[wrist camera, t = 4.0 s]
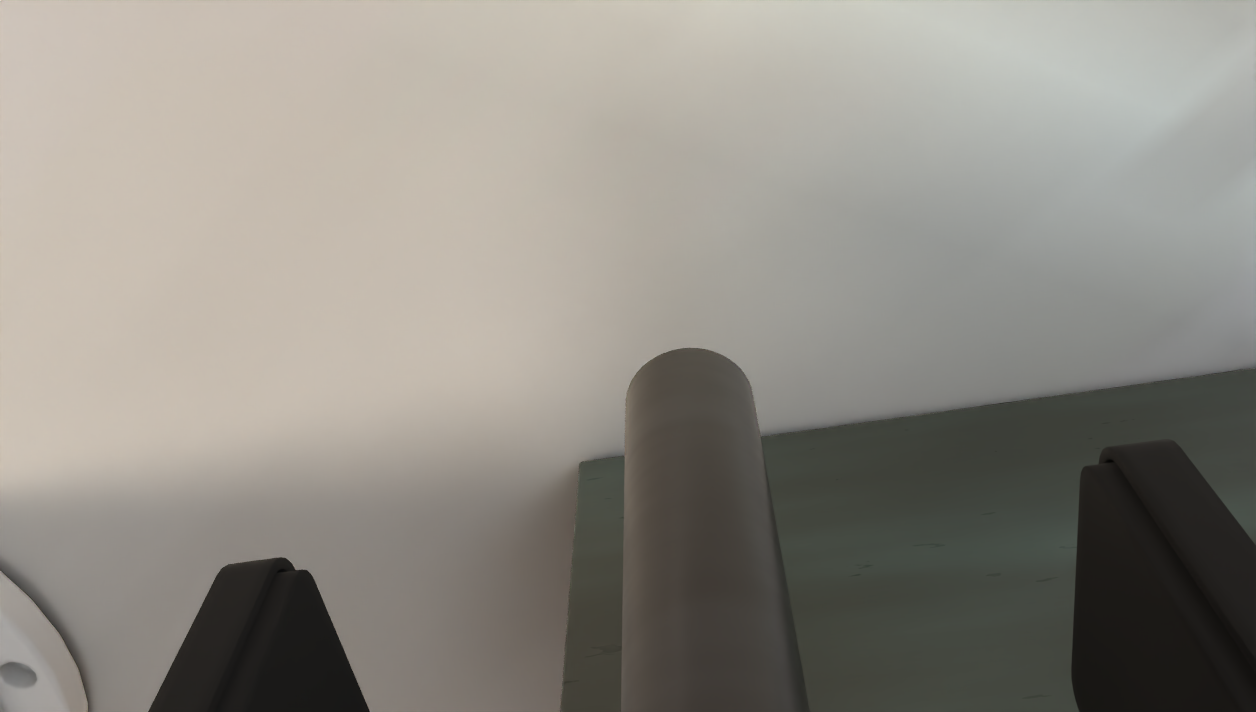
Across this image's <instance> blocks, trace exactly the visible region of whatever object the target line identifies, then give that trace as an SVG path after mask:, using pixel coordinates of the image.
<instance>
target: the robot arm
mask: <svg viewBox="0 0 1256 712" xmlns="http://www.w3.org/2000/svg"><path fill="white" fill-rule="evenodd" d="M1071 679H1072V686H1073V691H1074V696H1075V700H1076V703H1077V706H1078V709H1079V712H1256V545H1255V543H1254V542H1253V541H1252V539H1251V538H1250V537H1249V536H1248V534H1247V533H1246V532H1245V530H1244V529H1243V528H1242V526H1241V525H1240V524H1239V523H1238V521H1237V520H1236V519H1235V517H1234V516H1233V515H1232V513H1231V512H1230V511H1229V510H1228V508H1227V507H1226V506H1225V504H1224V503H1223V502H1222V500H1221V499H1220V498H1219V497H1218V495H1217V494H1216V493H1215V491H1214V490H1213V489H1212V487H1211V486H1210V485H1209V484H1208V482H1207V481H1206V480H1205V478H1204V477H1203V476H1202V474H1201V473H1200V472H1199V471H1198V469H1197V468H1196V467H1195V465H1194V464H1193V463H1192V461H1191V460H1190V459H1189V458H1188V456H1187V455H1186V454H1185V452H1184V451H1183V450H1182V448H1181V447H1180V446H1179V445H1178V444H1177V443H1176V442H1175V441H1173V440H1170V439H1162V440H1154V441H1147V442H1139V443H1132V444H1124V445H1117V446H1109V447H1106V448H1104V449H1103V450H1102V452H1101V454H1100V457H1099V464H1096V465H1088V466H1085V467H1083V469H1082V471H1081V476H1080V490H1079V511H1078V533H1077V555H1076V577H1075V599H1074V621H1073V642H1072V664H1071ZM0 712H88V702H87V699H86V695H85V691H84V687H83V684H82V680H81V676H80V672H79V669H78V667H77V665H76V664H75V662H74V660H73V658H72V656H71V654H70V652H69V650H68V648H67V647H66V645H65V643H64V641H63V639H62V637H61V635H60V634H59V633H58V632H57V630H56V629H55V628H54V627H53V625H52V624H51V623H50V622H49V620H48V619H47V618H46V617H45V615H44V614H43V613H42V612H41V610H40V609H39V608H38V607H37V605H36V604H35V603H34V602H33V600H32V599H31V598H30V597H29V596H28V595H26V594H25V593H24V592H23V591H22V590H21V589H20V588H19V587H18V586H17V585H15V584H14V583H13V582H12V581H11V580H10V579H9V578H8V577H7V576H6V575H4V574H3V573H2V572H1V571H0ZM148 712H370V711H369V709H368V706H367V704H366V702H365V699H364V697H363V695H362V692H361V690H360V687H359V685H358V683H357V680H356V678H355V676H354V673H353V671H352V668H351V666H350V664H349V661H348V659H347V657H346V654H345V652H344V649H343V647H342V645H341V642H340V640H339V637H338V635H337V633H336V630H335V628H334V626H333V623H332V621H331V618H330V616H329V614H328V611H327V609H326V607H325V604H324V602H323V599H322V597H321V595H320V592H319V590H318V588H317V585H316V583H315V580H314V579H313V577H312V575H311V574H310V573H309V572H308V571H307V570H295V568H294V566H293V564H292V563H291V562H290V561H289V560H288V559H286V558H281V557H280V558H272V559H265V560H257V561H250V562H242V563H235V564H228V565H226V566H225V567H223V568H222V569H221V570H220V572H219V573H218V574H217V576H216V578H215V580H214V582H213V584H212V586H211V588H210V590H209V592H208V594H207V596H206V598H205V600H204V602H203V604H202V606H201V608H200V610H199V612H198V614H197V616H196V618H195V620H194V622H193V624H192V626H191V628H190V630H189V632H188V634H187V636H186V638H185V640H184V642H183V644H182V646H181V648H180V650H179V652H178V654H177V656H176V658H175V660H174V662H173V664H172V666H171V668H170V670H169V672H168V674H167V676H166V678H165V680H164V682H163V683H162V685H161V687H160V689H159V691H158V693H157V695H156V697H155V699H154V701H153V703H152V705H151V707H150V709H149V711H148Z"/></svg>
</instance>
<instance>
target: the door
mask: <svg viewBox="0 0 1256 712" xmlns="http://www.w3.org/2000/svg"><path fill="white" fill-rule="evenodd" d="M1162 439H1170V440H1173V441H1175V442H1176V443H1177V444H1178V445H1179V446H1180V447H1181V448H1182V450H1183V451H1184V452H1185V454H1186V455H1187V456H1188V458H1189V459H1190V460H1191V461H1192V463H1193V464H1194V465H1195V467H1196V468H1197V469H1198V471H1199V472H1200V473H1201V474H1202V476H1203V477H1204V478H1205V480H1206V481H1207V482H1208V484H1209V485H1210V486H1211V487H1212V489H1213V490H1214V491H1215V493H1216V494H1217V495H1218V497H1219V498H1220V499H1221V500H1222V502H1223V503H1224V504H1225V506H1226V507H1227V508H1228V510H1229V511H1230V512H1231V513H1232V515H1233V516H1234V517H1235V519H1236V520H1237V521H1238V523H1239V524H1240V525H1241V526H1242V528H1243V529H1244V530H1245V532H1246V533H1247V534H1248V536H1249V537H1250V538H1251V539H1252V541H1253V542H1254V543H1255V545H1256V368H1254V369H1247V370H1239V371H1232V372H1225V373H1218V374H1211V375H1203V376H1196V377H1189V378H1182V379H1175V380H1167V381H1160V382H1153V383H1146V384H1139V385H1131V386H1124V387H1117V388H1110V389H1103V390H1095V391H1088V392H1081V393H1074V394H1067V395H1060V396H1052V397H1045V398H1038V399H1031V400H1024V401H1016V402H1009V403H1002V404H995V405H988V406H980V407H973V408H966V409H959V410H952V411H944V412H937V413H930V414H923V415H916V416H908V417H901V418H894V419H887V420H880V421H872V422H865V423H858V424H851V425H844V426H837V427H829V428H822V429H815V430H808V431H801V432H793V433H786V434H779V435H772V436H765V437H761V436H760V431H759V425H758V419H757V414H756V408H755V403H754V397H753V392H752V388H751V385H750V383H749V380H748V379H747V377H746V375H745V374H744V372H743V371H742V370H741V369H740V368H739V367H738V366H737V365H736V364H735V363H734V362H732V361H731V360H730V359H728V358H726V357H724V356H723V355H721V354H718V353H716V352H713V351H709V350H706V349H699V348H683V349H677V350H672V351H669V352H666V353H663V354H661V355H659V356H657V357H655V358H653V359H652V360H650V361H649V362H648V363H646V364H645V365H644V366H643V367H642V368H641V369H640V370H639V371H638V372H637V373H636V375H635V376H634V378H633V379H632V381H631V383H630V385H629V388H628V391H627V395H626V408H625V456H621V457H614V458H606V459H599V460H592V461H585V462H581V463H580V464H579V475H578V488H577V501H576V514H575V527H574V539H573V552H572V565H571V578H570V591H569V604H568V617H567V629H566V642H565V655H564V668H563V681H562V694H561V707H560V712H1079V709H1078V706H1077V703H1076V700H1075V696H1074V691H1073V686H1072V679H1071V664H1072V642H1073V621H1074V599H1075V577H1076V555H1077V533H1078V511H1079V490H1080V476H1081V471H1082V469H1083V467H1085V466H1088V465H1096V464H1099V457H1100V454H1101V452H1102V450H1103V449H1104V448H1106V447H1109V446H1117V445H1124V444H1132V443H1139V442H1147V441H1154V440H1162Z"/></svg>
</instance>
